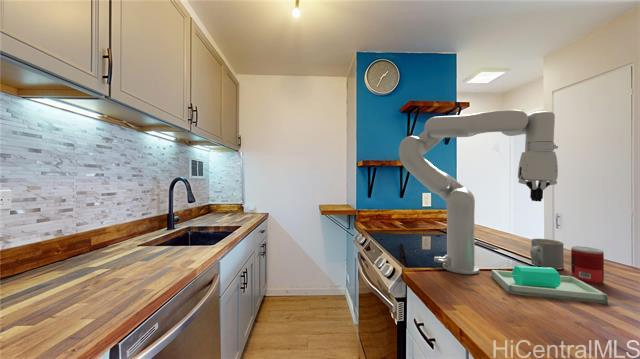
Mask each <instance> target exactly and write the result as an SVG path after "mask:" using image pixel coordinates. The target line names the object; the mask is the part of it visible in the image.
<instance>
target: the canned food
mask: <svg viewBox="0 0 640 359" xmlns="http://www.w3.org/2000/svg"><path fill="white" fill-rule="evenodd" d="M570 252H571V253H570V254H571V255H570V260H571V261H570V262H571V264H570V265H571V266H570V267H571V269H570V271H571V275H570V276H573V277H575V278H577V279H578V280H580V281H582V282H584V283H586V284H593V285H603V284H604V282H605V278H604V277H605V276H604V274H605V273H604V272H605V269H604V268H605V266H604V265H605V263H604V262H605V257H604V256H605V254H604V250H602V249H600V248H595V247H589V246H579V245H578V246H577V245H575V246H571V248H570Z"/></svg>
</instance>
